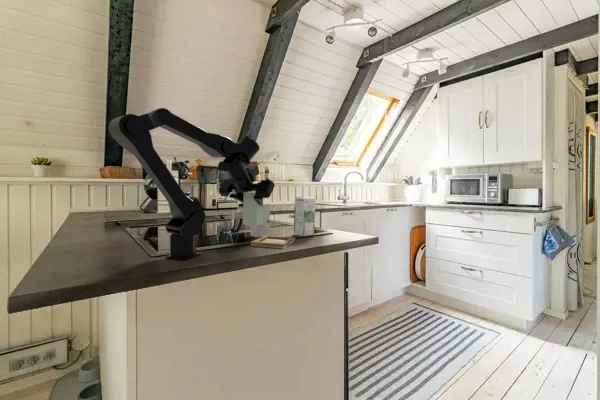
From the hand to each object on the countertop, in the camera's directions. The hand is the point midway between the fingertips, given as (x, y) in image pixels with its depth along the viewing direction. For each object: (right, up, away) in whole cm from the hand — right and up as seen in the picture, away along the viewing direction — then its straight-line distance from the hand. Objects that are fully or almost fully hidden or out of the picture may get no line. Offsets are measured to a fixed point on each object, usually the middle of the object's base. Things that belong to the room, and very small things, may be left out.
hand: (255, 204), depth 104 cm
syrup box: (+17, -12, +9) cm, 23 cm away
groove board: (+7, -13, -6) cm, 16 cm away
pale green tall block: (-1, -7, -1) cm, 7 cm away
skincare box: (+1, -12, +6) cm, 14 cm away
